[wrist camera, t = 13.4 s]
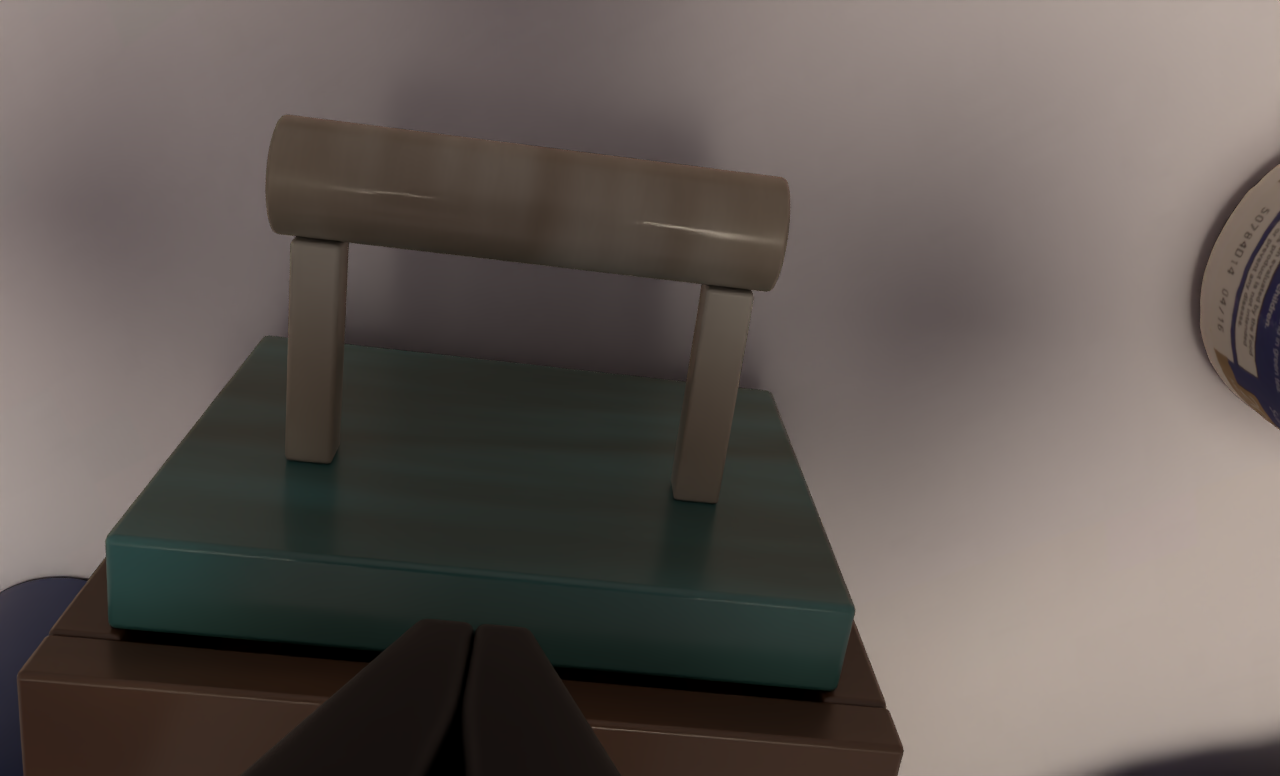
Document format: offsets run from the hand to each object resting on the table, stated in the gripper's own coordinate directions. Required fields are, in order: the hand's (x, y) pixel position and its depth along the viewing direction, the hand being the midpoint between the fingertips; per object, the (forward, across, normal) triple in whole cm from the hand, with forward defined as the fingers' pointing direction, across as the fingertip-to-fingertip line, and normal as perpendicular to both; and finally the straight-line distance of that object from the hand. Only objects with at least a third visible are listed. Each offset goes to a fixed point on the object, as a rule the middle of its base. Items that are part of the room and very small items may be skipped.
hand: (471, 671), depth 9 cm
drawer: (+11, 0, +5) cm, 12 cm away
